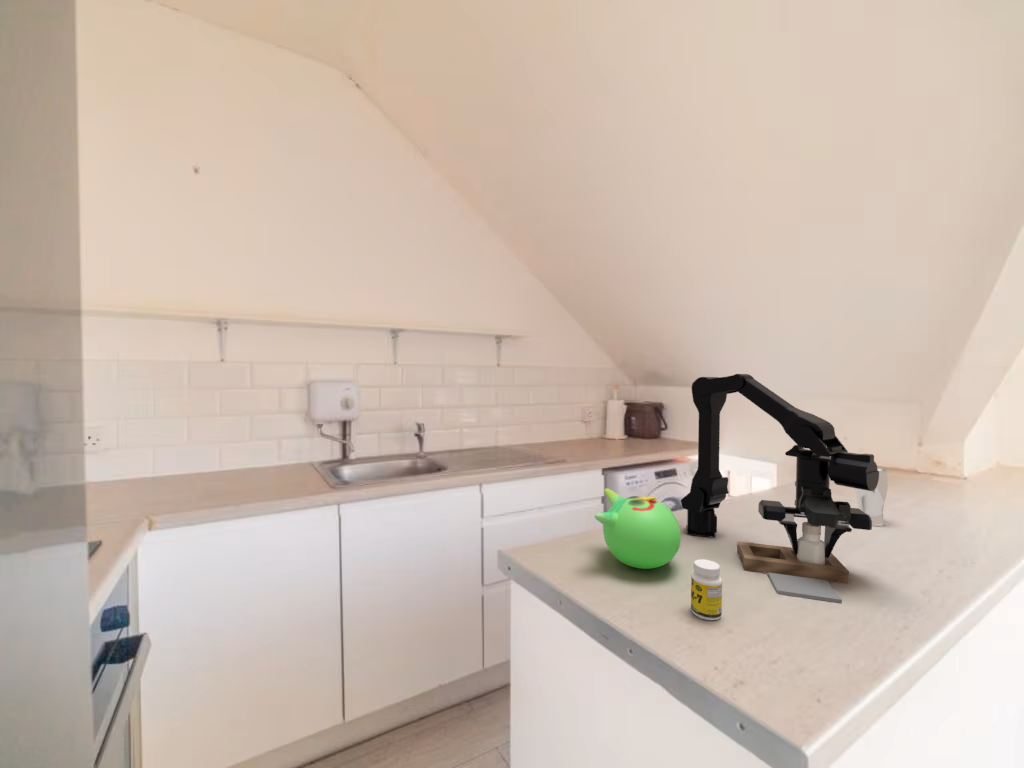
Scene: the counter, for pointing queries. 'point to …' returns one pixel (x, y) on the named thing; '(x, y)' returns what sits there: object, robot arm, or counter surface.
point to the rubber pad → (803, 587)
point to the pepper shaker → (811, 545)
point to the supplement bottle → (706, 590)
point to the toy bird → (640, 530)
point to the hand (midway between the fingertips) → (810, 555)
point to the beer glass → (874, 499)
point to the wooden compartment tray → (789, 563)
